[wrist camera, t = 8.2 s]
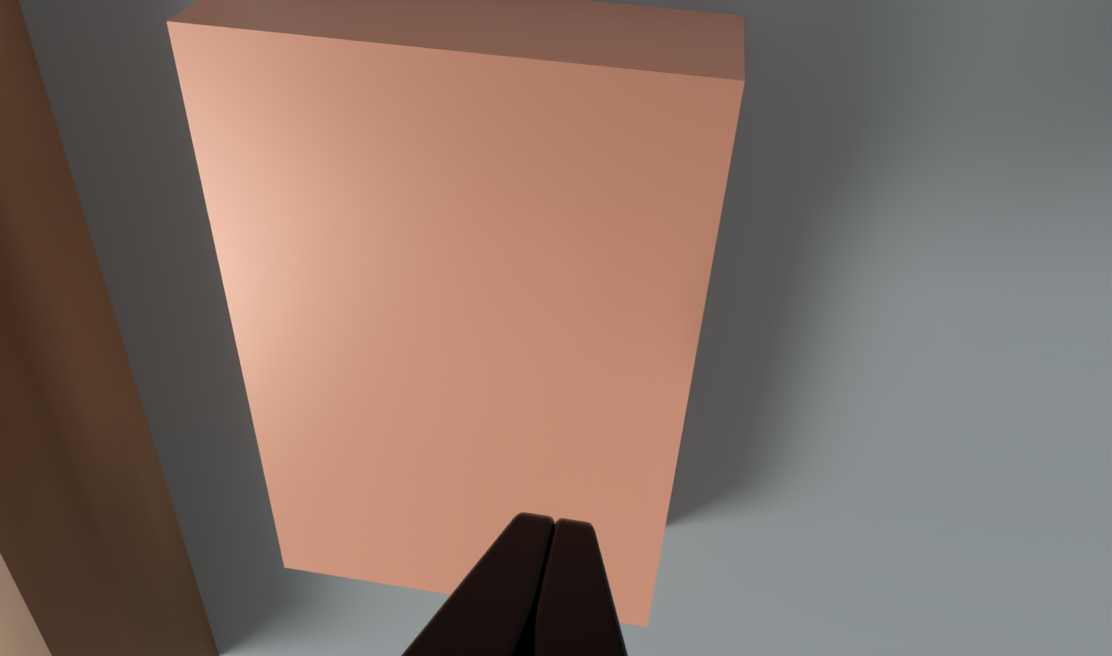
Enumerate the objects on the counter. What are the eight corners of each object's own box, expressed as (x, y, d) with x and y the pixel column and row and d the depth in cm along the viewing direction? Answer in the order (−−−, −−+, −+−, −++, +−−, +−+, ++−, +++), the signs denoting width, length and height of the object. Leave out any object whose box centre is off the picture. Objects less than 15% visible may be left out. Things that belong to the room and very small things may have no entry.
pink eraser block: (166, 21, 9) (247, -33, 11) (284, 567, 15) (327, 478, 16) (745, 80, 9) (744, 16, 10) (647, 627, 14) (656, 529, 16)
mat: (2248, -837, 6) (2310, -855, 6) (1027, 787, 19) (1031, 801, 19) (-221, -863, 8) (-252, -880, 7) (224, 644, 21) (218, 655, 21)
